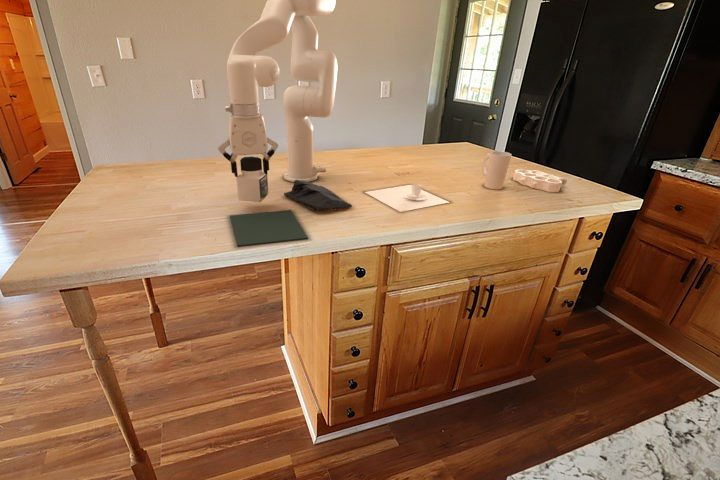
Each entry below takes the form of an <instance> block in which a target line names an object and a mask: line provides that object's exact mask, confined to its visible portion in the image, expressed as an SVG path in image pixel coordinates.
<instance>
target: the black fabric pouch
mask: <svg viewBox="0 0 720 480" xmlns="http://www.w3.org/2000/svg"><path fill="white" fill-rule="evenodd" d="M283 196H285V197H288V198H290V199H291V200H292V201H294V202H296V203H298V204H302V205H303V206H305V207H306V208H309V209H311V210H313V211H315V212H324V211H331V210H345V209H349V208H352V207H353V205H352V204H351V203H349V202H347V201H345V200H344V199H342V198H341V197H340V196H339V195H337V194H336V193H335V192H333V191H332V190H330V189H328V188H327V187H325V186H323V185H319V184H314V183H313V182H311V181H310V182H306V181H300V180H295V181H294V182H293V186H292V188H291V190H290V191H286V192H284V193H283Z"/></svg>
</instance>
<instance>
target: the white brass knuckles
mask: <svg viewBox="0 0 720 480" xmlns="http://www.w3.org/2000/svg"><path fill="white" fill-rule="evenodd" d="M512 180H513V181H515V182H518V183H519V184H520V185H523V186H526V187H529V188H531V189H536V190H541V191H545V192H547V193H559V192H560V190H561V188H562V187H563V186H565V185H566V184H567V183H568V180H567V179H566V178H565V177H560V176H556V175H554V174H552V173H547V172H543V171H541V170H539V169H536V170H528V169H515V171H514V173H513V176H512Z"/></svg>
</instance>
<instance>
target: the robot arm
mask: <svg viewBox="0 0 720 480" xmlns="http://www.w3.org/2000/svg"><path fill="white" fill-rule="evenodd" d="M335 7H336V0H266V3H265V5H264V8H263V10H262V12H261V15H260V18H259V19H258V20H257V21H256V22H254V23H253V24H252V25H250V26H249V27H248V28H247V29H245V31H243V32H242V33H241V34H240V35H239V36H238V37H237V38H236V39H235V40H234V43H233V45H232V47H231V50H230V52H229V55H228V59H227V62H226V74H227V83H228V92H229V93H228V94H229V102H230V103H229V105H225V109H224V110H225V112H228V113H230V115H229V116H228V117H229V118H228V138H227V139H226V140H225V141H223V143H221V144H220V145H218V147H217V150H218V152H219V153H220V154H221V155H222V156H223V157H224V158H225V159H226V160H227V161H229V162H230V169H231V173H232V174H233V175H234V177H235V178H236V177H237V176H239V174H238V164H237V161H236V159H237V157H238V156H248V155H249V156H253V155H262V156H263V158H262V172H264V173H265V174H267V175H268V172H269V171H270V160H271V158H272V157H273V156H274V155H275V152H276V151H277V149H278V147H279V143H278V142H276V141H274V140H272V139H271V138H269V136H268V135H267V128H266V122H265V117H264V115H263V114H261V112H260V111H261V109H260V95H259V94H260V93H259V88H270V87H272V86H274V85H276V83H277V82H278V81H279V78H280V67H279V64H278V62H277V61H276V60H275V59H274V58H273V57H271V56H268V55H257V54H258V53H260V52H262V51H265V50H266V49H269V48H272V47H275V46H277V45H279V44H281V43H283V42H284V41H286V40H287V38H288V35H289V33H290V30H291V34H292V35H291V36H292V37H291V49H290V51H291V52H290V64H289V65H290V66H289V71H290V76H291V78H292V79H293V80H294V81H298V82H303V83H305V82H306V83H319V86H313V85H312V86H311V85H301V84H299V85H291V86H288V87H287V88H286V89H285V90H284V92H283V94H282V96H283V97H282V104H283V110H284V114H285V121H286V157H287V159H286V161H287V171H286V172H284V174H283V179H284V180H286V181H288V182H291V183H294V181H295V180H300V181H306V182H310V183H311V182H314V181H316V180H317V179H318V173H326V172H327V167H326V166H320V165H318V166H316V165H314V135H315V134H314V133H315V132H314V125H313V124H312V122H311V120H310V117H311V118H314V117H315V118H328V117H330V116H331V115H332V114H333V110H334V107H335V101H336V100H335V99H336V90H337V80H338V68H339V67H338V60H337V59H338V58H337V56H336V54H335V53H334V52H332V51H331V50H324V49H323V50H322V49H318V48H319V47H318V46H319V45H318V44H319V32H318V29H317V27H316V25H315V23H314V22H313V21H312V19H311V18H310V17H316V16H317V17H318V16H319V17H324V16H325V17H326V16H329V15H331V14H332V13H333V11H334V9H335ZM268 145H270V146H271V147H270V149H268ZM228 147H229V148H230V151H231V153H230V154H229V152H228V151H226V149H227V148H228Z"/></svg>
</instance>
